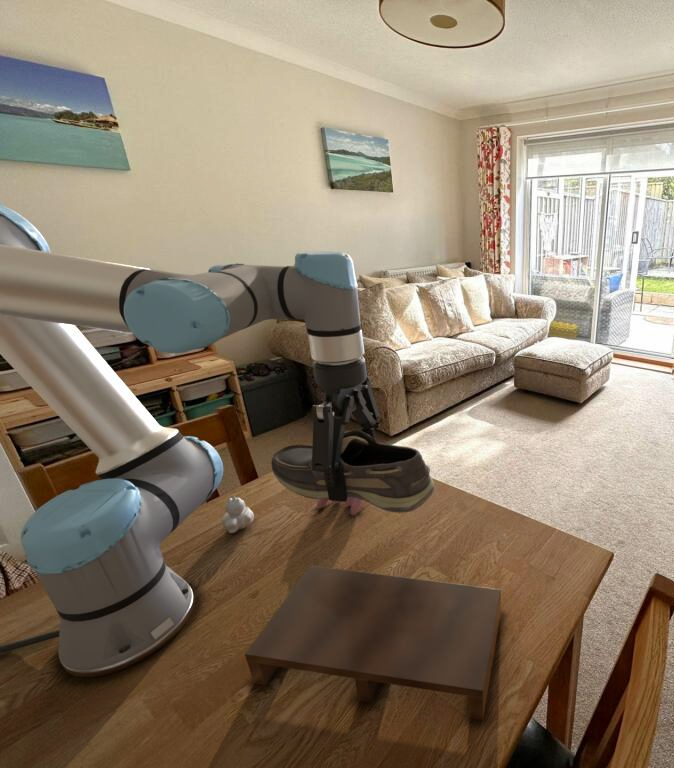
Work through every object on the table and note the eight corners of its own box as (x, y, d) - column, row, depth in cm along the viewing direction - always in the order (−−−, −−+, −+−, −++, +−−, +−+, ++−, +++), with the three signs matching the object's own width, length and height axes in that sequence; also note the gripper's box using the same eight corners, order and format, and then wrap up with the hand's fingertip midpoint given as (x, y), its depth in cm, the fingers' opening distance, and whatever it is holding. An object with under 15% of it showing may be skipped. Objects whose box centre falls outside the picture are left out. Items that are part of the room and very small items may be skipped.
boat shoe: (302, 458, 78) (293, 408, 74) (446, 479, 73) (444, 427, 69) (259, 492, 68) (245, 437, 64) (422, 519, 63) (418, 461, 59)
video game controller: (365, 512, 90) (370, 481, 91) (353, 516, 86) (359, 483, 86) (327, 504, 92) (331, 474, 93) (313, 509, 88) (318, 476, 88)
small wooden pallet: (254, 683, 55) (244, 654, 53) (316, 591, 69) (310, 565, 67) (482, 720, 52) (482, 690, 50) (500, 616, 66) (501, 589, 64)
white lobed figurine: (261, 516, 86) (253, 485, 83) (247, 538, 80) (238, 505, 77) (233, 518, 85) (224, 487, 82) (217, 541, 79) (207, 508, 76)
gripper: (352, 336, 73) (365, 443, 81) (263, 383, 51) (293, 522, 59) (392, 339, 72) (401, 446, 80) (319, 388, 50) (341, 527, 59)
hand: (355, 478), depth 70 cm, fingers closed on boat shoe, 11 cm apart
